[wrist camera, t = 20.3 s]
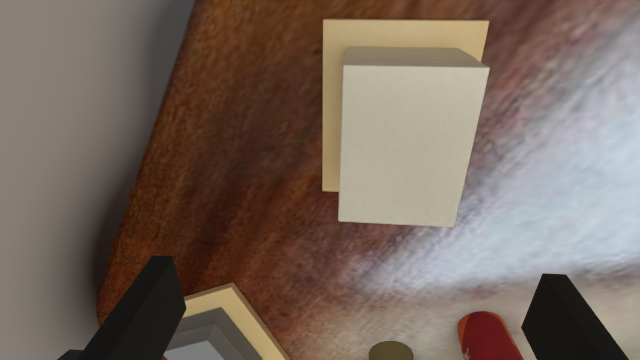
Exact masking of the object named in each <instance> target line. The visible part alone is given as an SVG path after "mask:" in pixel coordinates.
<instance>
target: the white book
mask: <svg viewBox="0 0 640 360" xmlns="http://www.w3.org/2000/svg"><path fill="white" fill-rule="evenodd" d="M489 70H490V68H489V67H488V66H486V65H484V64H483V63H481V62H479V61H478V60H476V59H442V58H375V57H344V62H343V75H342V109H341V143H340V176H339V210H338V221H342V222H362V223H382V224H401V225H421V226H441V227H455V222H456V218H457V213H458V209H459V204H460V200H461V195H462V191H463V187H464V182H465V178H466V173H467V169H468V164H469V160H470V155H471V151H472V146H473V142H474V137H475V133H476V128H477V124H478V119H479V115H480V110H481V106H482V101H483V97H484V92H485V88H486V83H487V79H488V74H489Z"/></svg>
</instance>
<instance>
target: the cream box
mask: <svg viewBox="0 0 640 360" xmlns="http://www.w3.org/2000/svg"><path fill="white" fill-rule="evenodd" d="M488 26H489V21H488V20H445V19H324V20H323V136H322V191H333V192H339V176H340V143H341V109H342V75H343V62H344V57H375V58H442V59H476V60H478V61H479V62H481V59H482V54H483V50H484V45H485V40H486V35H487V31H488Z"/></svg>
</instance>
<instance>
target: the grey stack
mask: <svg viewBox="0 0 640 360" xmlns="http://www.w3.org/2000/svg"><path fill="white" fill-rule="evenodd" d="M184 300H185V304H186V308H187V309H186V311H185V313H184V315H183V317H182V319H181V321H180V323H179V325H178V327H177V329H176V331H175V333H174V335H173V337H172V339H171V341H170V343H169V345H168V347H167V349H166V351H165V353H164V356H165V357H166V358H167V359H168V360H291V359H290V358H289V356H288V355H287V353H286V352H285V351H284V349H283V348H282V347H281V345H280V344H279V343H278V341H277V340H276V339H275V337H274V336H273V335H272V333H271V332H270V331H269V329H268V328H267V327H266V325H265V324H264V323H263V321H262V320H261V319H260V317H259V316H258V315H257V313H256V312H255V310H254V309H253V308H252V306H251V305H250V304H249V302H248V301H247V300H246V298H245V297H244V296H243V294H242V293H241V292H240V290H239V289H238V288H237V286H236V285H235V284H234V282H231V283H228V284H224V285H221V286H218V287H215V288H211V289H208V290H205V291H201V292H198V293H195V294H192V295H188V296H185V297H184Z"/></svg>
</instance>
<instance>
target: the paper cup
mask: <svg viewBox="0 0 640 360" xmlns="http://www.w3.org/2000/svg"><path fill="white" fill-rule="evenodd" d="M458 334H459V339H460V344H461V349H462V353H463V358H464V360H524V359H523V357H522V356H521V354H520V352H519V350H518V348H517V346H516V344H515V342H514V340H513V339H512V337H511V335H510V333H509V331H508V329H507V327H506V326H505V324H504V322H503V321H502V319H501V318H500V317H499V316H497V315H496V314H493V313H490V312H475V313H472V314H469V315H467V316H465V317H464V318H463V319H462V320H461V321H460V322H459V324H458Z"/></svg>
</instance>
